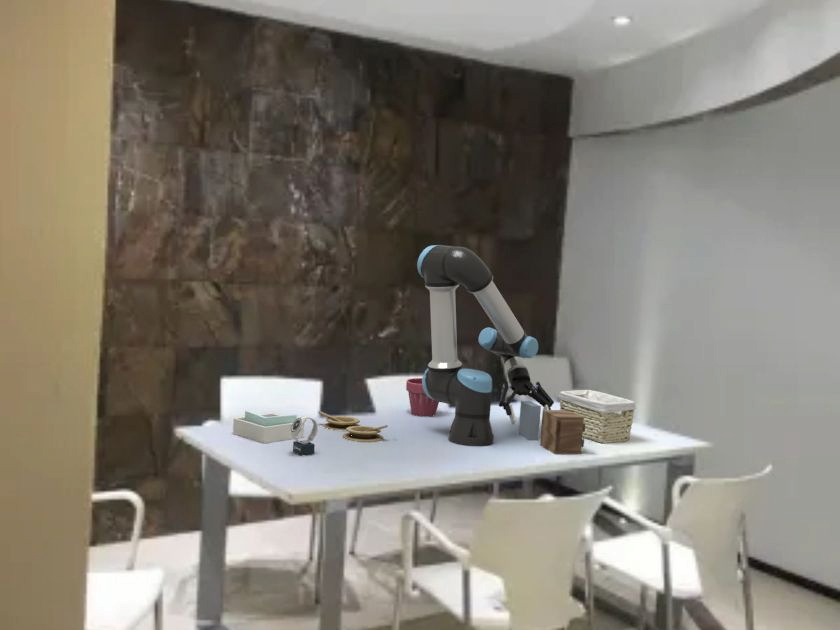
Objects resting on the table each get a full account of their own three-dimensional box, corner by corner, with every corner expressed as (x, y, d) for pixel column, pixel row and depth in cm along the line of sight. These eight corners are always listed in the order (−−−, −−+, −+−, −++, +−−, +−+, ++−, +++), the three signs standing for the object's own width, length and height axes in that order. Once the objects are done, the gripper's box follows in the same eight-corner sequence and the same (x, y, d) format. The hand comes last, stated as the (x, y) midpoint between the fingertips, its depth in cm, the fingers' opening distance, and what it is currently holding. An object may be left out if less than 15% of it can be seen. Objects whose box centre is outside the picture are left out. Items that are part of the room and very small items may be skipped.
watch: (286, 452, 275) (288, 416, 274) (310, 450, 280) (312, 414, 279) (295, 456, 271) (297, 419, 270) (319, 454, 275) (321, 418, 274)
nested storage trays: (264, 443, 284) (265, 427, 284) (232, 433, 295) (233, 418, 295) (303, 437, 296) (304, 422, 296) (272, 428, 307) (272, 413, 306)
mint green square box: (295, 438, 295) (296, 415, 294) (262, 441, 287) (264, 417, 287) (276, 430, 304) (277, 408, 303) (244, 433, 296) (245, 410, 296)
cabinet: (583, 453, 298) (586, 417, 297) (555, 454, 295) (558, 417, 294) (567, 445, 309) (569, 410, 308) (540, 445, 306) (542, 410, 305)
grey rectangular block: (538, 440, 314) (540, 406, 313) (528, 440, 313) (531, 406, 312) (527, 434, 323) (530, 401, 322) (518, 434, 322) (520, 401, 321)
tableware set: (398, 442, 301) (399, 424, 300) (344, 446, 291) (345, 427, 290) (359, 423, 326) (360, 407, 326) (307, 426, 317) (308, 409, 316)
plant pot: (412, 418, 338) (414, 384, 337) (399, 410, 351) (401, 377, 350) (447, 417, 343) (450, 384, 342) (433, 410, 356) (435, 377, 355)
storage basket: (634, 442, 322) (638, 400, 321) (601, 445, 313) (605, 402, 312) (587, 427, 342) (590, 388, 341) (554, 430, 333) (557, 390, 332)
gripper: (545, 378, 336) (560, 428, 323) (482, 378, 328) (495, 428, 315) (552, 366, 330) (568, 416, 318) (488, 365, 323) (502, 416, 310)
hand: (532, 422), depth 316 cm, fingers open, 13 cm apart
